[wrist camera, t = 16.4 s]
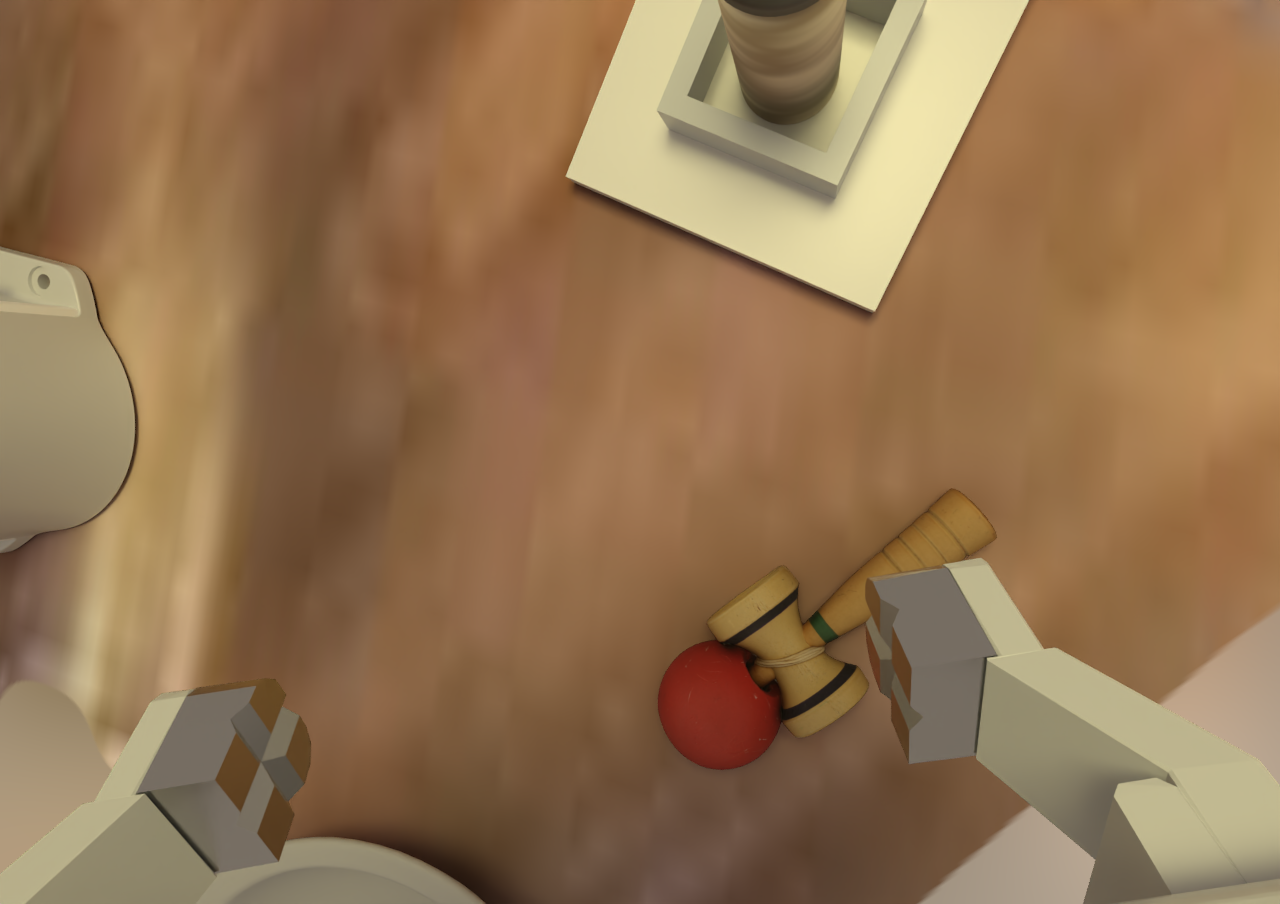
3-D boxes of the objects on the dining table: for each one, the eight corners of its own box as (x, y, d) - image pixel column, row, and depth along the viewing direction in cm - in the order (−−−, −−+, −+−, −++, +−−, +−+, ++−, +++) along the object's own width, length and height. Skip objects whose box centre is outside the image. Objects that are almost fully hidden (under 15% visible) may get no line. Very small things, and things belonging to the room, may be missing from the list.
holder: (574, 182, 40) (545, 161, 35) (708, -151, 37) (694, -219, 32) (872, 312, 38) (880, 307, 33) (1041, -30, 34) (1075, -86, 30)
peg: (717, 105, 37) (667, -31, 24) (763, 1, 36) (736, -203, 23) (814, 145, 36) (816, 27, 23) (863, 39, 35) (894, -147, 22)
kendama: (896, 433, 39) (620, 655, 41) (947, 455, 33) (619, 716, 35) (987, 547, 41) (714, 759, 42) (1053, 590, 34) (729, 836, 36)
